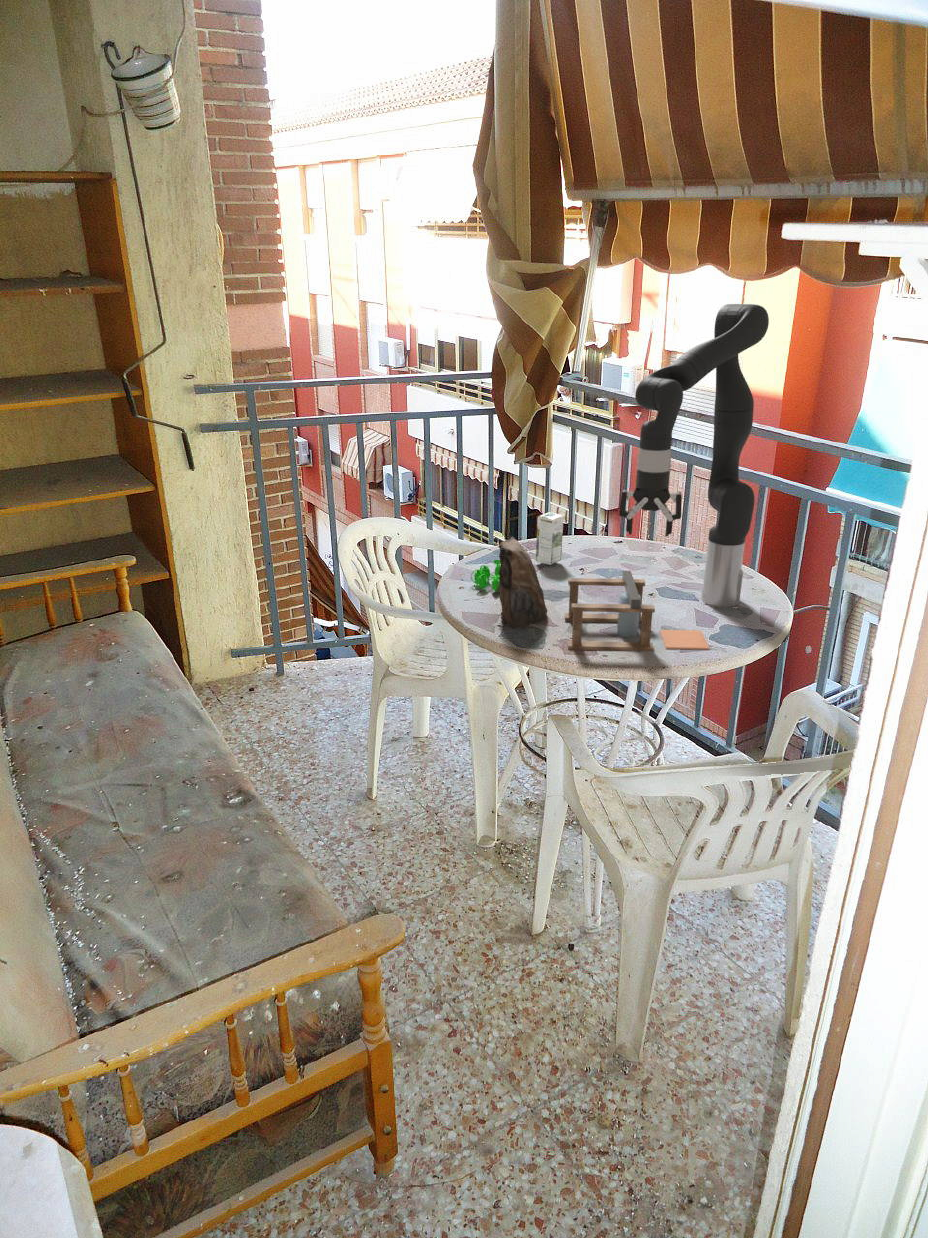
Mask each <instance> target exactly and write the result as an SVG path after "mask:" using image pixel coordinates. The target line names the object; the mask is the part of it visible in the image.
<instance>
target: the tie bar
mask: <svg viewBox="0 0 928 1238" xmlns="http://www.w3.org/2000/svg"><path fill="white" fill-rule="evenodd" d="M621 576H622V577H621V579H623V583H624V586H623V587H624V588H625V593H627V596H628V599H629V603H630V606H631V608H640V597H639V594H638V591H637V588H636V585H635V582H634V579H635V578H634V577H633V573H632V570H622V575H621Z"/></svg>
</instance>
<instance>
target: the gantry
mask: <svg viewBox="0 0 928 1238" xmlns="http://www.w3.org/2000/svg"><path fill="white" fill-rule="evenodd" d="M633 579H634V582H635V585H636V588H637V591H638V594H639V595H640V596H641V601H640V608H631V606H630V604H619V603H617V604H616V603H615V604H614V603H579V586H596V587H597V586H598V587H599V586H603V587H604V586H605V587H609V586H611V587H613V586H615V587H618V586H619V587H625V586H624V583H623V579H622V578H594V577H593V578H592V577H591V578H590V577H589V578H586V577H568V578H567V582H568V583H567V584H568V586H569V597H568V598H569V599H568V600H569V601H568V612H567V613H566V612H565V613H564V621H565V622H572V631H571V632H572V635H571V640H567V649H568V650H581V651H583V650H584V651H585V650H586V651H587V650H590V651H593V650H594V651H599V650H600V651H601V650H602V651H655V646H654V644H653V642H652V641H651V633H652V622H653V614H654V613H655V612H656V609H655V606H654V604H642V602H643V591H644V587H646V580H645V578H633ZM583 612H590V613H583ZM591 612H592V613H591ZM593 612H595V613H593ZM619 612H639V623H640V633H639V634H640V635H639V641H603V640H602V641H598V640H596V641H594V640H582V632H583V622H584V623H585V622H586V623H587V622H588V623H618V614H619Z"/></svg>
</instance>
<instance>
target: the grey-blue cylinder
mask: <svg viewBox="0 0 928 1238" xmlns="http://www.w3.org/2000/svg"><path fill="white" fill-rule="evenodd" d="M639 597H640V601H641V596H640V595H639ZM618 601H619V602H618V604H630V603H629V599H628V596H627V593H626V592H622V593H620V594H619V600H618ZM617 614H618V622H617V629H616V630H617V631H616V634H617V635H618V636H620V637H623V638H635V637H637V636H638V635H639V626H640V624H639V612H618V613H617Z"/></svg>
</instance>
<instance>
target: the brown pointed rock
mask: <svg viewBox="0 0 928 1238" xmlns="http://www.w3.org/2000/svg"><path fill="white" fill-rule="evenodd" d="M498 548H499V555H498V557H499V560H500V562H501V564H500V570H499V584H498V588H497V589H498V590H497V592H498V593H499V601H500V605H501V613H500V615H501V617H500V619H502V620H501V621H502V622H501V623H503V622H504V623H505V624H504V623H503V624H504V625H506V624H508V625H507V626H509V625H510V626H509V627H510V628H512V627H513V628H512V629H519V628H518V627H520V628H523V627H525V626H529V625H531V624H534V623H538V622H542V621H543V620H546V619H548V618H549V617H548V614H547V613H548V608H547V605H546V602H545V597H544V591H543V588H542V587H541V584H540V581H539V577H538V574H537V571H536V567H535V566H534V564H533V561H532V559H531V557H530V555H529V554H528V552H527V550H526V549H525V547H524V548H523V546H522V544H520V542H519V541H518V540H517V539H515V537H514V536H510V538H509V539H507V540H502V541H501V542H500V543H499V545H498ZM522 626H523V627H522Z"/></svg>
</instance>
